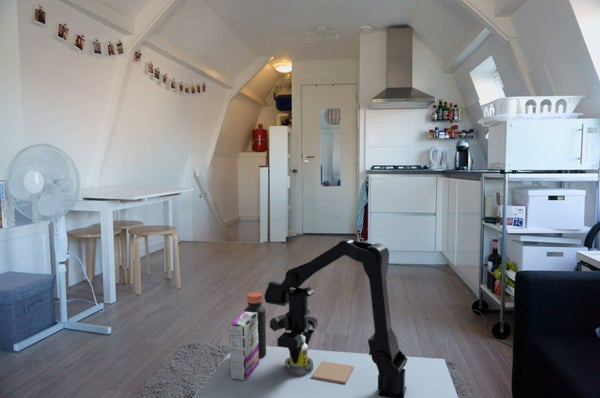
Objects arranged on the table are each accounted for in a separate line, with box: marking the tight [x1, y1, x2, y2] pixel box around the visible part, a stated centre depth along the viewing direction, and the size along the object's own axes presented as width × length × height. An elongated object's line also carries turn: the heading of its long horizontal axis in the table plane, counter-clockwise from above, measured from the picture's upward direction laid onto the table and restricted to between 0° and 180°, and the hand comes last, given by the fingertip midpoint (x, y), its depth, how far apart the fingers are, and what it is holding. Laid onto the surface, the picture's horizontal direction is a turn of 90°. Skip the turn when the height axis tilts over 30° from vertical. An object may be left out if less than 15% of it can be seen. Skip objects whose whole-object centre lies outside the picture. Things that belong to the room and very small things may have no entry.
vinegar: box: [243, 291, 267, 360], centre depth 135 cm, size 7×7×20 cm
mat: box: [311, 360, 355, 385], centre depth 124 cm, size 10×10×1 cm
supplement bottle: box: [289, 335, 309, 368], centre depth 126 cm, size 5×5×10 cm
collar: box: [283, 357, 314, 377], centre depth 126 cm, size 8×8×2 cm
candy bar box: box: [228, 311, 260, 382], centre depth 124 cm, size 11×5×16 cm, turn 164°
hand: (298, 358), depth 126 cm, fingers closed on supplement bottle, 5 cm apart
